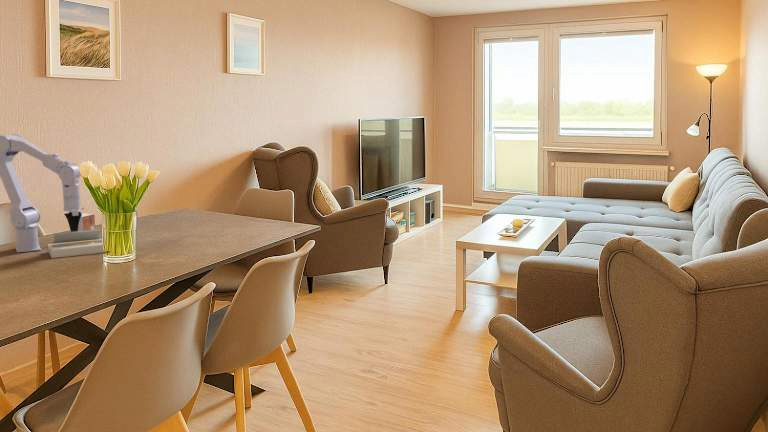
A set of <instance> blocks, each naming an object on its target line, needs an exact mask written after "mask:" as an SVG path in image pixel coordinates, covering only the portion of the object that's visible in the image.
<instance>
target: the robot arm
mask: <svg viewBox="0 0 768 432" xmlns="http://www.w3.org/2000/svg"><path fill="white" fill-rule="evenodd" d="M20 152H21V153H22V152H23V153H24V154H25V153H26V154H27V155H29V156H31V157H33V158H35V159H37V160H38V161H41V163H42V165H43V167H45V168H46V169H48V170H50V171H52V172H53V173H55V174H56V175H57V176H58V178H59V179H60V181H61V184H62V196H63V211H64V212H67V213H64V216H65V219H66V220H67V223H68V227H69V229H70V232H74V231H78V225H79V220H80V218H81V216H82V214H83V213H82V212H81V211H82V210H85V206H82V204H81V191H80V189H81V188H80V177H81V175H82V173H81V174H80V171H79V167H80V166H79V165H78V164H77V163H70V161H69V160H65V159H63V158H61V157H60V156H59V154H58V153H47V152H45V150H44V151H43V149H41V148H40V147H38V146H36V145H35V144H33V143H32V142H30V141H29V140H27V138H25V137H23V136H21V135H19V134H8V135H7V134H6V135H3V134H2V135H0V180H1V182H2V184H3V187H4V189H5V191H6V194H7V196H8V199H9V202H10V204H11V206H10V208H9V211H8V212H9V215H10V222H11V225H12V226H13V227H14V229H15V235H16V246H15V250H16V252H17V253H26V252H28V253H29V252H37V251H41V250H42V248H41V246H40V244H39V243H40V242H39V231H38V225H39V222H40V220H41V217H42V216H41V213H40V211H39V210H38V209H37V208H36V207H35V204H34V203H33V202H31V201H30V200H29V199H28V198H27V195H26V193H25V191H24V188H23V185H22V184H21V181H20V179H19V176H18V173H17V171H16V169H15V167H14V164H13V160H14V159H15V157H16V156H17V155H18V154H19V153H20Z"/></svg>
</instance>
